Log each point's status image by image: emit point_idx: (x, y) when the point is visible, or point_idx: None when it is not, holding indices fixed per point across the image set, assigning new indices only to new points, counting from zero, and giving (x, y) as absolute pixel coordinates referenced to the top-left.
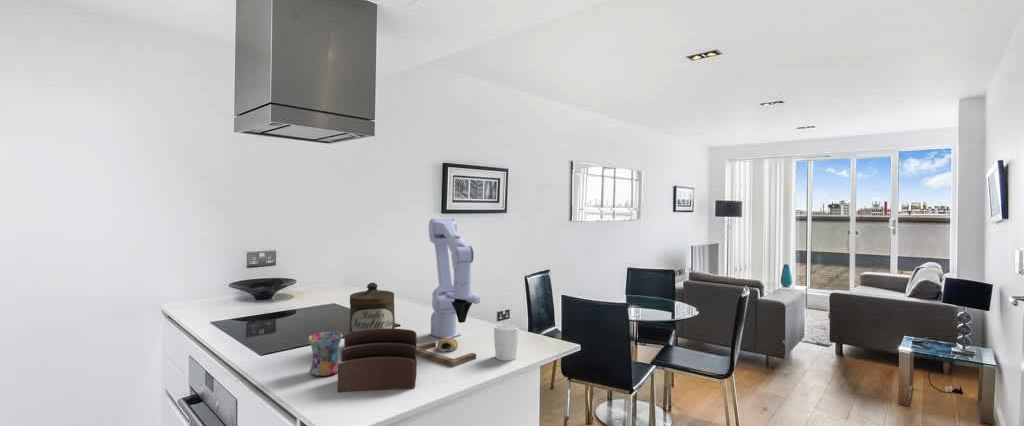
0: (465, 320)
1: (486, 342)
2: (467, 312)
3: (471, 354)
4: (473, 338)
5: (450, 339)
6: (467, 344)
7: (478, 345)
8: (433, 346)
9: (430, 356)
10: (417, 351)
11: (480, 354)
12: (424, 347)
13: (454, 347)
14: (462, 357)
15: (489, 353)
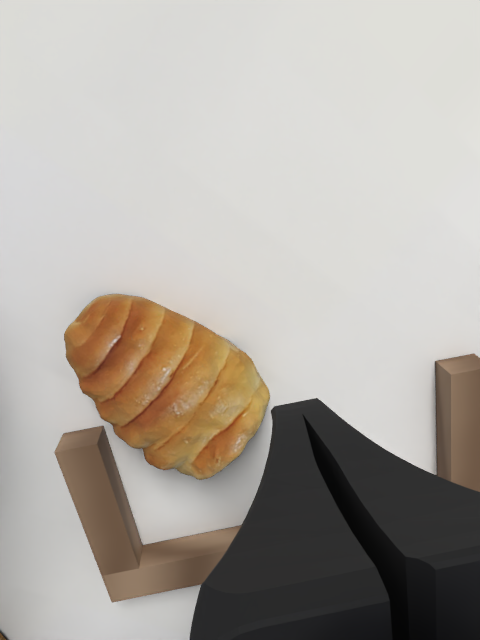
0: (324, 405)
1: (244, 44)
2: (384, 454)
3: (475, 394)
4: (60, 58)
5: (206, 411)
6: (188, 219)
7: (267, 164)
8: (107, 447)
9: None
10: (191, 582)
11: (436, 285)
12: (125, 517)
13: (268, 392)
14: (472, 460)
15: (468, 223)
